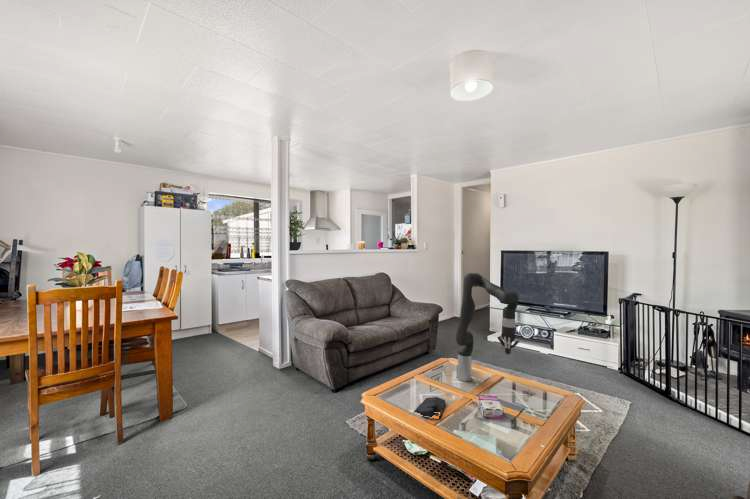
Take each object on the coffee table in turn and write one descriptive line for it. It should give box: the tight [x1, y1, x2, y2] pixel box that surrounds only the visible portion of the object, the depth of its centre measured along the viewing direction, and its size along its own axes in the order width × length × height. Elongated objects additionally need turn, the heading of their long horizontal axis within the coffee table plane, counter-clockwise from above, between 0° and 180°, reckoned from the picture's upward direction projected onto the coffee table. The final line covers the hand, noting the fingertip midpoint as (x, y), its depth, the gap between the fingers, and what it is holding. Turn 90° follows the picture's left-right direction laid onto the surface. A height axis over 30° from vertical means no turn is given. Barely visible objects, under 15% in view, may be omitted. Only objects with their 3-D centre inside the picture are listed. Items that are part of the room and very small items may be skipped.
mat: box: [497, 398, 525, 421], centre depth 186 cm, size 15×18×1 cm
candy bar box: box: [476, 394, 505, 419], centre depth 183 cm, size 11×5×16 cm
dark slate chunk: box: [413, 396, 446, 417], centre depth 186 cm, size 15×22×5 cm
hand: (508, 354), depth 194 cm, fingers closed
